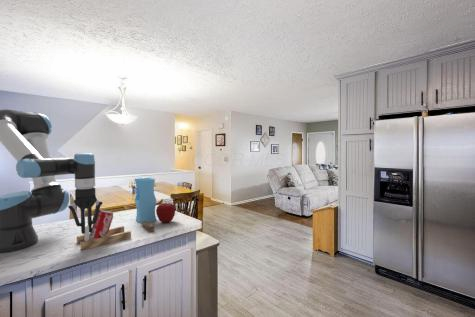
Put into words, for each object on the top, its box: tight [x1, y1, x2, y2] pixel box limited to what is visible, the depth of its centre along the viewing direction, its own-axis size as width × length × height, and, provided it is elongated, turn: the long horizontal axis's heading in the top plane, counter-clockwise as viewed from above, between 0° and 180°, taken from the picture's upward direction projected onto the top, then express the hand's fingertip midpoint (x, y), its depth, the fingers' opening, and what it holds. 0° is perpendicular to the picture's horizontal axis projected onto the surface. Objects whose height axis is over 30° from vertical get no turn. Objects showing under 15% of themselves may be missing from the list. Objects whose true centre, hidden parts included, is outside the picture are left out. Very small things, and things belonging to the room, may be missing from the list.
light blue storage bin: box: [134, 177, 157, 224], centre depth 136 cm, size 10×10×25 cm
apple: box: [155, 202, 176, 224], centre depth 132 cm, size 11×11×12 cm
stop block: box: [141, 221, 156, 233], centre depth 120 cm, size 2×12×3 cm, turn 43°
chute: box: [76, 225, 132, 251], centre depth 106 cm, size 20×12×3 cm, turn 133°
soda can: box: [89, 209, 114, 240], centre depth 105 cm, size 7×7×13 cm
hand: (86, 240), depth 101 cm, fingers closed
